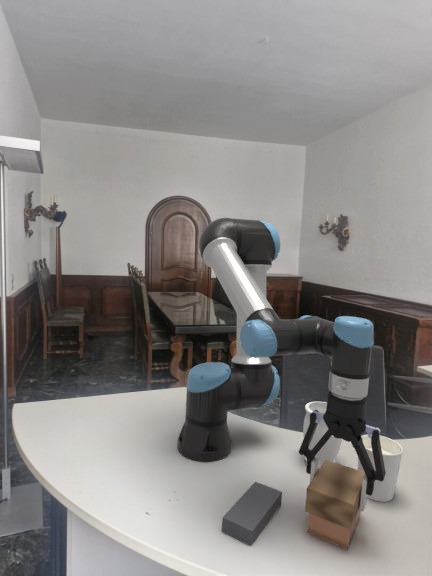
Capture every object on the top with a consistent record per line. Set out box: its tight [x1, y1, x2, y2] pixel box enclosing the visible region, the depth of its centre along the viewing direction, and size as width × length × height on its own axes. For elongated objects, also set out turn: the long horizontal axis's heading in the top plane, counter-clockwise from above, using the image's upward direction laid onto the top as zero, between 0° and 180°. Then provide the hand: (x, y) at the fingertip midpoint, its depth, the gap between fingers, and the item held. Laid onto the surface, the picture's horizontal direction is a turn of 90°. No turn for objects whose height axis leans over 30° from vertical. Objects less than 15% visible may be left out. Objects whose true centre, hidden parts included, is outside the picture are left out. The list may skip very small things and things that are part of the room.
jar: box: [302, 401, 343, 470], centre depth 107 cm, size 11×10×15 cm
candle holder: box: [357, 434, 404, 503], centre depth 95 cm, size 10×10×12 cm
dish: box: [307, 509, 361, 551], centre depth 83 cm, size 8×11×5 cm
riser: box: [221, 481, 283, 546], centre depth 84 cm, size 7×15×3 cm, turn 149°
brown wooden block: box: [304, 460, 365, 530], centre depth 82 cm, size 9×13×5 cm
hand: (336, 497), depth 83 cm, fingers open, 10 cm apart
